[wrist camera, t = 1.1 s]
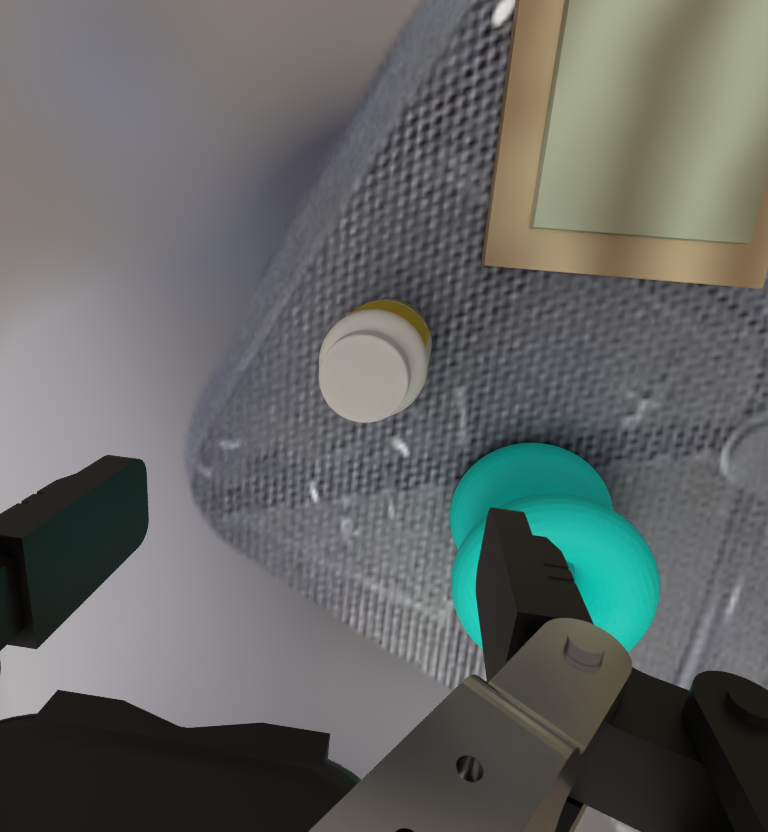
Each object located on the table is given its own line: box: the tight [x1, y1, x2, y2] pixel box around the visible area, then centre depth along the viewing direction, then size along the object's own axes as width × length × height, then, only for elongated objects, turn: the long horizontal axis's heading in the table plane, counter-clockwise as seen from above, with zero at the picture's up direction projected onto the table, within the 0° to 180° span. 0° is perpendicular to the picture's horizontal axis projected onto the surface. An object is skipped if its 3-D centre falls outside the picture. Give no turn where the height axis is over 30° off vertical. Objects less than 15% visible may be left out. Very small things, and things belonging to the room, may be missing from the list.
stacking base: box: [481, 0, 768, 289], centre depth 25 cm, size 14×14×4 cm
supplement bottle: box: [319, 298, 432, 423], centre depth 27 cm, size 5×5×10 cm
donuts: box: [450, 443, 660, 652], centre depth 29 cm, size 10×10×10 cm
